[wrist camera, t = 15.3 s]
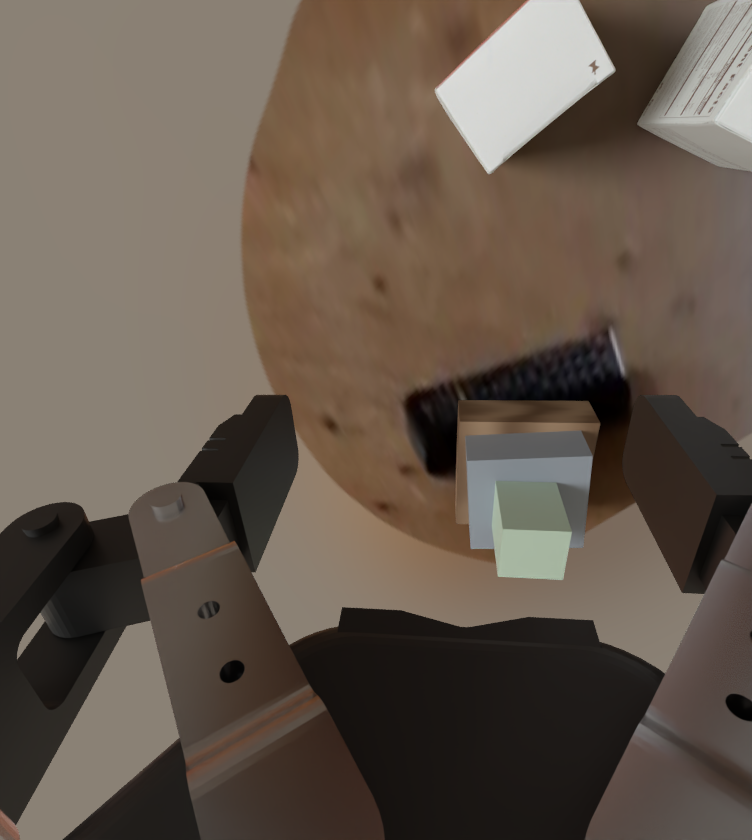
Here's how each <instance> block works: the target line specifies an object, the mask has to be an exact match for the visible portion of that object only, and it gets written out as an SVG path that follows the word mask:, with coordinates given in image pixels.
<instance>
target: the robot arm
mask: <svg viewBox="0 0 752 840" xmlns="http://www.w3.org/2000/svg"><path fill="white" fill-rule="evenodd" d="M738 445H739V444H738V443H737V442H736V441H735V440H734V439H733V438H732V437H731V435H730V434H729V433H728V432H727V431H726V430H725V429H723V428H721V427H720V426H718V425H716V424H715V423H713V422H711V421H709V420H708V419H706V418H704V417H697V416H696V415H695V414H694V413H693V412H692V411H691V410H690V408H689V407H688V406H687V405H686V404H685V403H684V401H683V400H682V399H681V398H680V397H679V396H677V395H640V396H639V397H638V398H637V399H636V401H635V403H634V407H633V411H632V416H631V420H630V425H629V429H628V434H627V438H626V443H625V447H624V452H623V459H622V467H623V475H624V478H625V481H626V483H627V485H628V487H629V489H630V491H631V493H632V495H633V497H634V499H635V501H636V503H637V505H638V506H639V509H640V511H641V513H642V515H643V517H644V519H645V521H646V523H647V525H648V526H649V529H650V530H651V532H652V534H653V536H654V538H655V540H656V542H657V544H658V546H659V548H660V550H661V552H662V554H663V556H664V558H665V560H666V562H667V564H668V566H669V568H670V570H671V572H672V573H673V576H674V578H675V580H676V582H677V584H678V586H679V588H680V590H681V592H682V593H698V594H704V596H703V598H702V600H701V602H700V604H699V606H698V608H697V610H696V612H695V614H694V616H693V618H692V620H691V622H690V625H689V627H688V629H687V631H686V633H685V635H684V637H683V639H682V641H681V643H680V645H679V647H678V649H677V651H676V653H675V655H674V657H673V659H672V661H671V663H670V665H669V667H668V669H667V672H666V673H663V672H662V671H661V670H659V669H658V668H656V667H654V666H652V665H651V664H649V663H647V662H646V661H644V660H643V659H641V658H639V657H637V656H635V655H632V654H630V653H628V652H626V651H624V650H621V649H619V648H616V647H613V646H611V645H608V644H605V643H602V642H599V639H598V635H597V633H596V629H595V625H594V622H593V620H574V619H555V618H536V617H535V618H534V617H526V618H520V619H515V620H509V621H503V622H498V623H491V624H486V625H480V626H474V627H459V626H454V625H451V624H448V623H444V622H440V621H437V620H433V619H430V618H426V617H423V616H419V615H416V614H412V613H408V612H405V611H401V610H383V609H363V608H345V607H344V608H343V607H342V611H341V616H340V621H339V626H338V627H334V628H329V629H326V630H322V631H319V632H316V633H313V634H311V635H308V636H306V637H303V638H302V639H299V640H298V641H296V642H294V643H292V644H290V645H289V644H288V642H287V640H286V639H285V636H284V635H283V633H282V631H281V629H280V627H279V625H278V623H277V621H276V619H275V617H274V615H273V613H272V611H271V610H270V607H269V605H268V604H267V601H266V600H265V598H264V596H263V594H262V592H261V590H260V588H259V586H258V584H257V582H256V580H255V578H254V576H253V574H252V572H256V570H257V567H258V565H259V562H260V560H261V558H262V555H263V553H264V550H265V548H266V545H267V543H268V541H269V538H270V536H271V533H272V531H273V528H274V526H275V524H276V521H277V519H278V516H279V514H280V512H281V509H282V507H283V504H284V502H285V499H286V497H287V494H288V492H289V490H290V487H291V485H292V483H293V480H294V478H295V475H296V472H297V468H298V446H297V440H296V434H295V428H294V422H293V416H292V410H291V404H290V400H289V398H288V396H287V395H256V396H254V398H253V399H252V401H251V402H250V404H249V405H248V406H247V408H246V409H245V411H244V413H243V414H242V415H233V416H232V417H231V418H229V419H228V420H226V421H225V422H223V423H222V424H220V425H219V426H218V427H217V428H216V430H215V431H214V433H213V434H212V435H211V437H210V440H209V441H207V442H206V443H205V445H204V446H203V448H202V451H200V452H199V453H198V455H197V456H196V457H195V459H194V460H193V461H192V463H191V464H190V465H189V467H188V468H187V469H186V471H185V472H184V474H183V475H182V476H181V478H180V479H179V481H178V482H175V483H169V484H166V485H162V486H159V487H156V488H154V489H152V490H150V491H148V492H146V493H145V494H143V495H142V496H141V497H139V498H138V499H137V500H136V501H135V502H134V503H133V505H132V506H131V508H130V510H129V514H127V515H123V516H117V517H112V518H107V519H101V520H96V521H91V522H89V521H88V519H87V516H86V514H85V512H84V510H83V508H82V507H81V506H79V505H77V504H75V503H70V502H61V503H54V504H49V505H45V506H42V507H39V508H36V509H35V510H32V511H30V512H28V513H26V514H24V515H22V516H21V517H19V518H17V519H16V520H15V521H14V522H12V523H11V524H10V525H9V526H8V527H6V528H5V529H4V531H2V532H1V534H0V840H20V835H19V832H18V829H17V827H16V824H17V822H18V820H19V819H20V817H21V815H22V813H23V811H24V810H25V808H26V806H27V804H28V802H29V801H30V799H31V797H32V795H33V793H34V792H35V790H36V788H37V786H38V784H39V783H40V781H41V779H42V777H43V775H44V773H45V772H46V770H47V768H48V766H49V764H50V763H51V761H52V759H53V757H54V755H55V754H56V752H57V750H58V748H59V746H60V745H61V743H62V741H63V739H64V737H65V736H66V734H67V732H68V730H69V728H70V727H71V724H72V723H73V721H74V719H75V718H76V716H77V714H78V712H79V710H80V709H81V707H82V705H83V703H84V701H85V700H86V698H87V696H88V694H89V692H90V691H91V689H92V687H93V685H94V683H95V682H96V680H97V678H98V676H99V674H100V672H101V671H102V669H103V667H104V665H105V663H106V662H107V660H108V658H109V656H110V655H111V653H112V651H113V649H114V647H115V646H116V644H117V642H118V640H119V638H120V636H121V635H122V633H123V631H124V629H125V628H126V626H128V625H133V624H136V623H141V622H145V621H151V624H152V629H153V633H154V637H155V641H156V645H157V649H158V653H159V657H160V661H161V665H162V669H163V673H164V677H165V681H166V685H167V689H168V693H169V697H170V701H171V705H172V709H173V713H174V717H175V721H176V725H177V729H178V733H179V737H180V738H179V739H177V740H176V741H175V742H174V743H173V744H172V745H171V746H170V747H168V748H167V749H166V750H165V751H164V752H163V753H162V754H160V755H159V756H158V757H157V758H156V759H155V760H153V761H152V762H151V763H150V764H149V765H148V766H147V767H145V768H144V769H143V770H142V771H141V772H140V773H139V774H137V775H136V776H135V777H134V778H133V779H132V780H130V781H129V782H128V783H127V784H126V785H125V786H124V787H122V788H121V789H120V790H119V791H118V792H117V793H116V794H114V795H113V796H112V797H111V798H110V799H109V800H108V801H106V802H105V803H104V804H103V805H102V806H101V807H100V808H98V809H97V810H96V811H95V812H94V813H93V814H91V815H90V816H89V817H88V818H87V819H86V820H85V821H83V822H82V824H80V825H79V826H78V827H77V828H75V829H74V830H73V831H72V832H71V833H70V834H69V835H68V836H66V837H65V838H64V839H63V840H752V460H751V459H750V458H749V457H750V456H749V455H748V454H747V453H746V452H745V451H744V450H743V449H742V447H738ZM39 613H41V615H42V616H43V618H44V620H45V622H44V624H43V625H42V627H41V628H40V629H39V631H38V632H37V633H36V635H35V636H34V638H33V639H32V640H31V642H30V643H29V644H28V646H27V647H26V649H25V650H24V651H23V653H22V654H21V656H20V657H19V658H18V660H17V651H18V647H19V643H20V641H21V639H22V637H23V635H24V634H25V632H26V631H27V630H28V628H29V627H30V625H31V624H32V623H33V621H34V620H35V619H36V617H37V616H38V615H39Z"/></svg>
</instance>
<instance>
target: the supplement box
mask: <svg viewBox="0 0 752 840" xmlns="http://www.w3.org/2000/svg"><path fill="white" fill-rule="evenodd" d="M637 125H638V126H640V127H642V128H643V129H645V130H647V131H649V132H651V133H653V134H654V135H656V136H658V137H660V138H662V139H664V140H666V141H668V142H670V143H672V144H674V145H676V146H678V147H680V148H682V149H684V150H686V151H688V152H690V153H692V154H694V155H696V156H698V157H700V158H702V159H704V160H706V161H708V162H710V163H712V164H714V165H716V166H718V167H725V168H731V169H738V170H745V171H751V172H752V0H718V1H716V2H714V3H711V4H709V5H707V6H706V7H705V9H704V11H703V13H702V15H701V16H700V18H699V20H698V21H697V23H696V25H695V26H694V28H693V30H692V31H691V33H690V35H689V36H688V38H687V40H686V41H685V43H684V45H683V46H682V48H681V50H680V52H679V53H678V55H677V57H676V58H675V60H674V61H673V63H672V65H671V67H670V68H669V70H668V72H667V73H666V75H665V77H664V78H663V80H662V82H661V83H660V85H659V87H658V88H657V90H656V92H655V93H654V95H653V97H652V99H651V100H650V102H649V104H648V106H647V107H646V109H645V110H644V112H643V114H642V115H641V117H640V119H639V121H638V123H637Z"/></svg>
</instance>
